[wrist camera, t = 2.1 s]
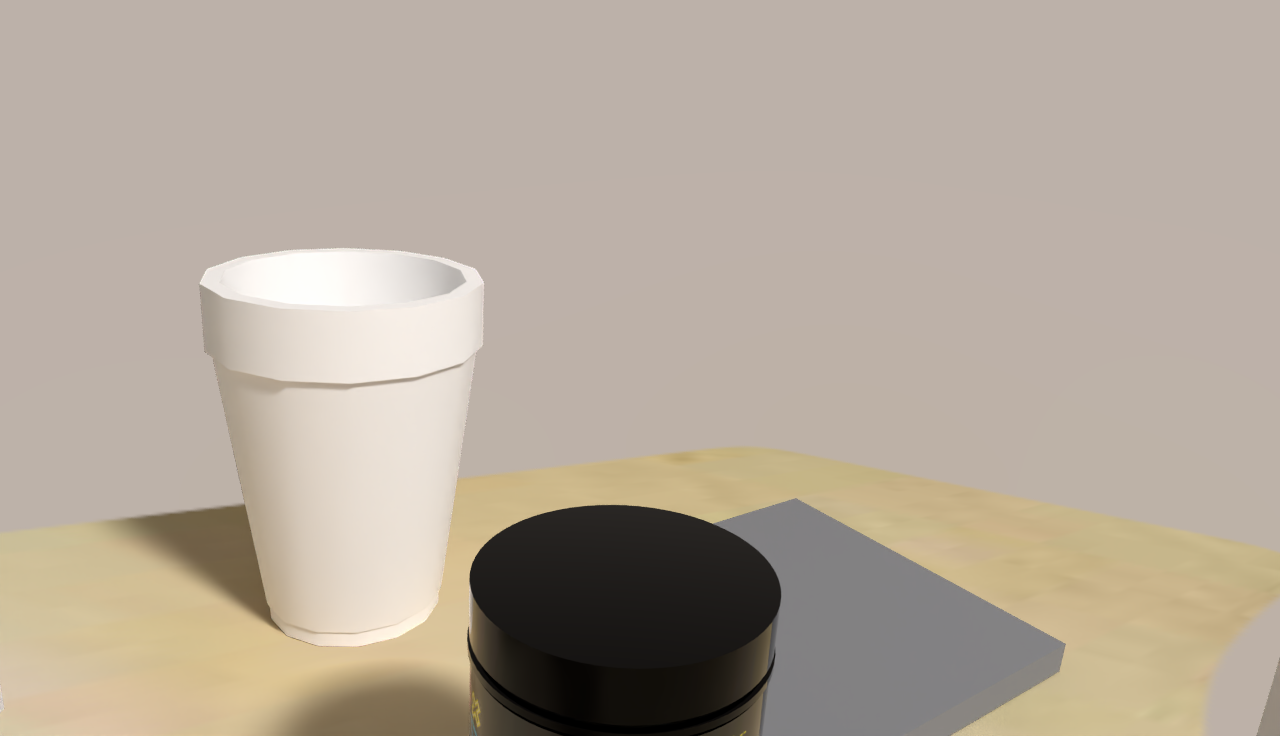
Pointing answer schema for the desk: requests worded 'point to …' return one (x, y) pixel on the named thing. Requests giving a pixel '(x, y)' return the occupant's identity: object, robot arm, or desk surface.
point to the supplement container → (620, 627)
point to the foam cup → (346, 427)
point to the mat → (881, 636)
